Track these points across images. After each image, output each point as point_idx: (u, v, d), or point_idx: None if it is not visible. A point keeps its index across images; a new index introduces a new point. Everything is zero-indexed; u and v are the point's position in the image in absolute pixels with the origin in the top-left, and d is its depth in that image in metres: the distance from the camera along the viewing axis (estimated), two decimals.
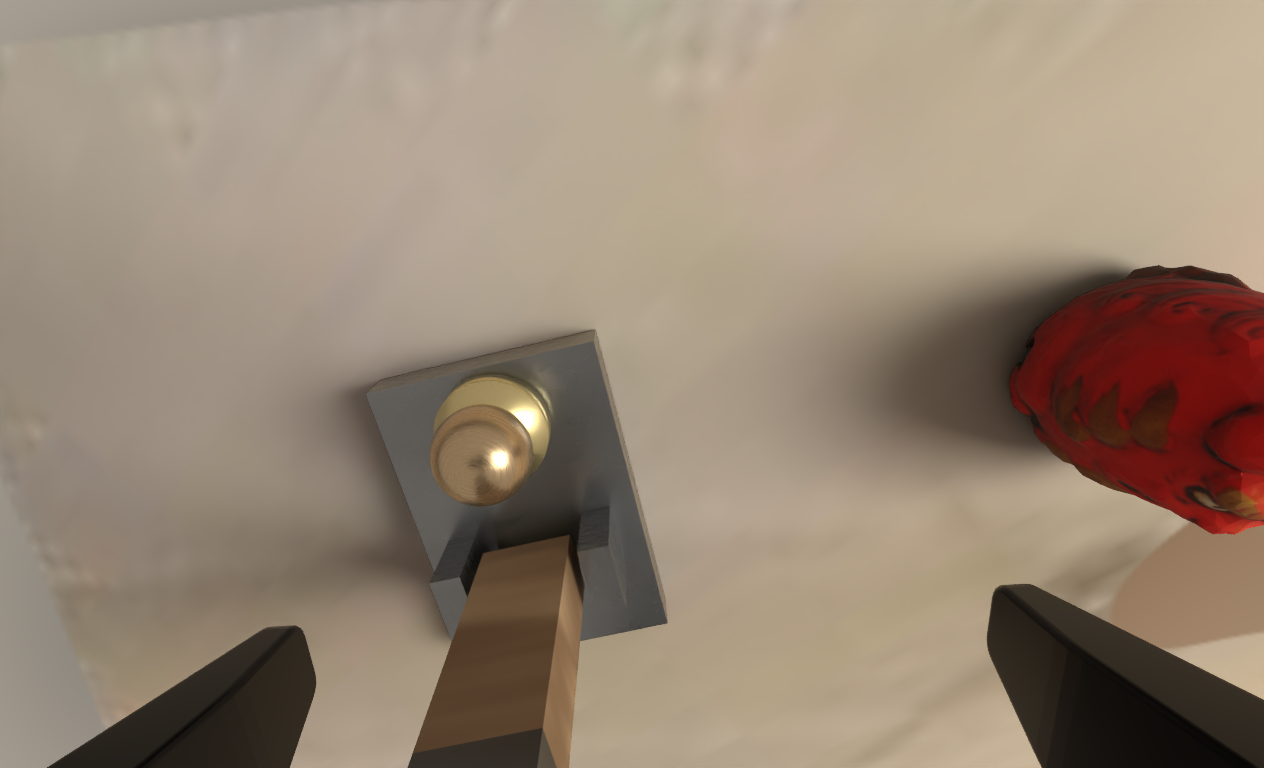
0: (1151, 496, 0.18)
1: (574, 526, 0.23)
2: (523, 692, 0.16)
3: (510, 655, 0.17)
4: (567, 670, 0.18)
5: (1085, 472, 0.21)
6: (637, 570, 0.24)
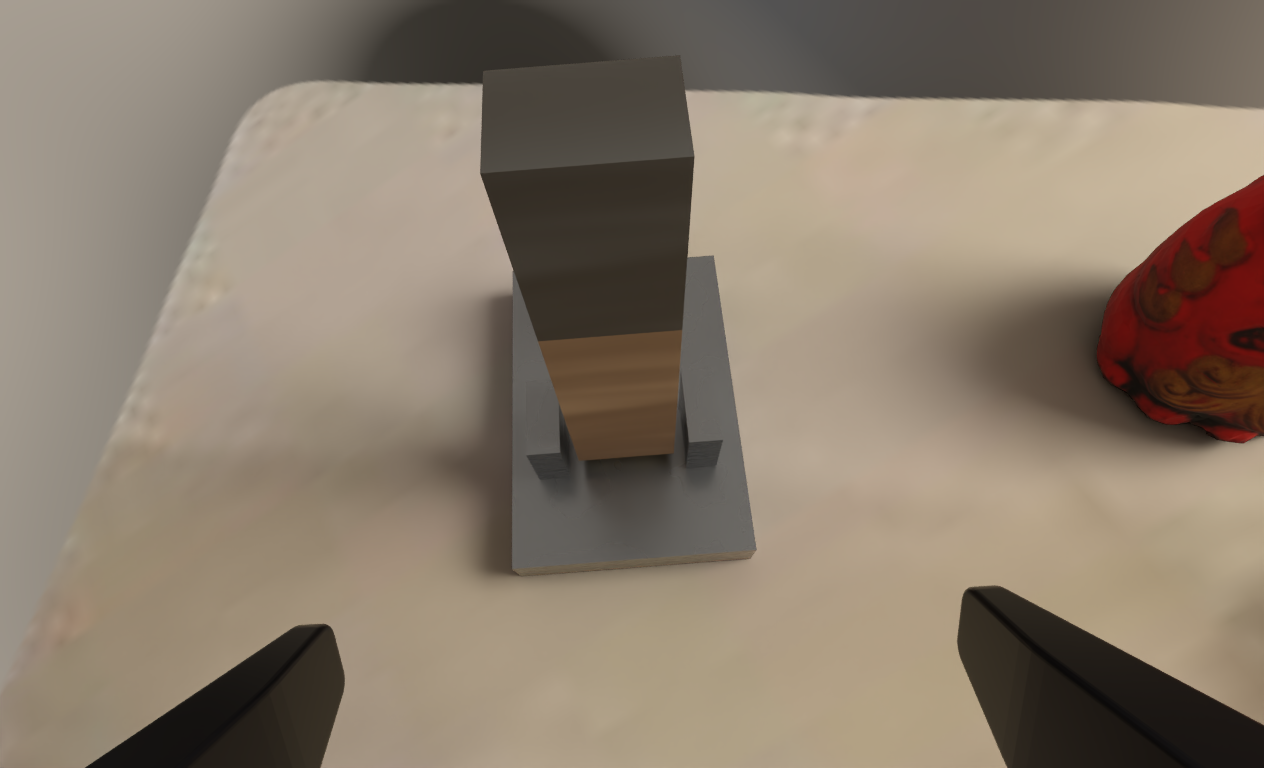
0: None
1: None
2: None
3: None
4: None
5: (1198, 367, 0.21)
6: (728, 474, 0.22)
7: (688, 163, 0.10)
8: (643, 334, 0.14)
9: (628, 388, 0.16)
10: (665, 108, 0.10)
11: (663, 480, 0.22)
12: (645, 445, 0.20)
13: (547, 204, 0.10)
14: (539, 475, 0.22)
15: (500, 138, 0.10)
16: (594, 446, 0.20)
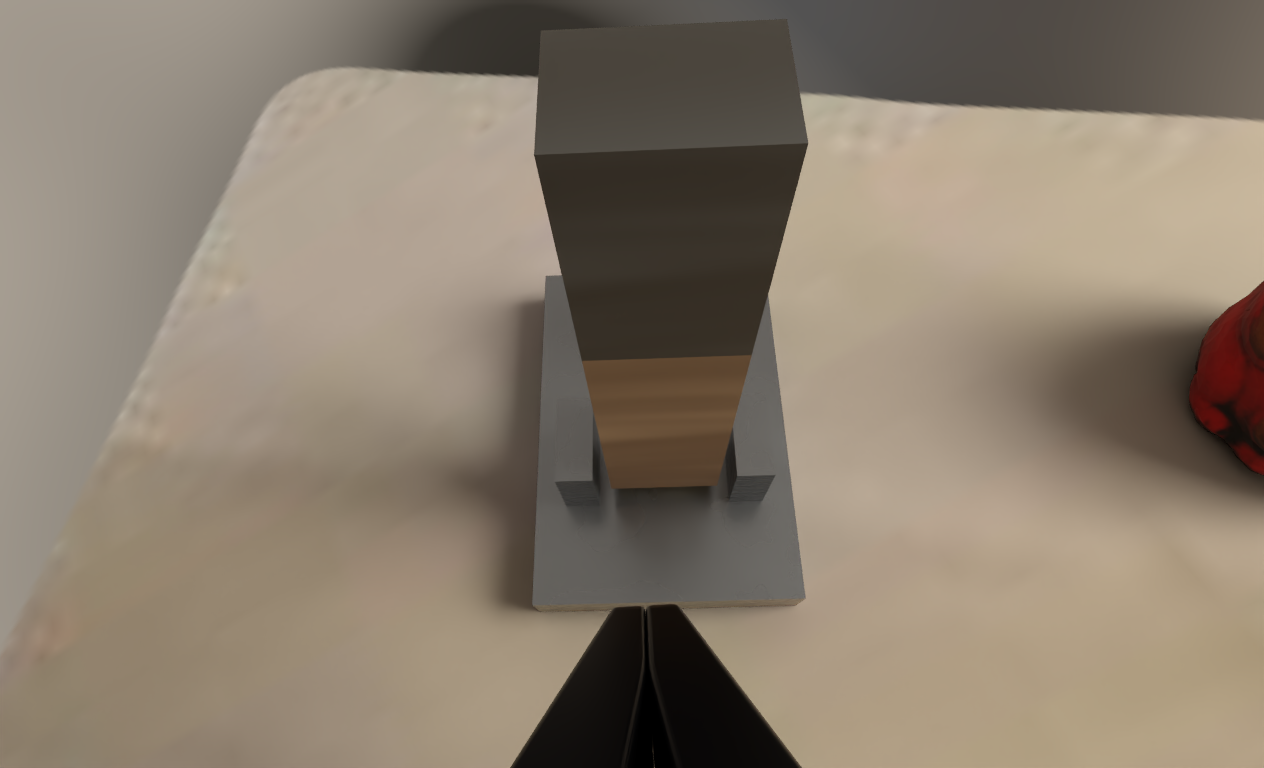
0: None
1: None
2: None
3: None
4: None
5: None
6: (775, 511, 0.20)
7: (799, 152, 0.07)
8: (705, 358, 0.12)
9: (678, 416, 0.14)
10: (768, 83, 0.08)
11: (703, 514, 0.20)
12: (687, 476, 0.18)
13: (613, 198, 0.08)
14: (566, 502, 0.20)
15: (560, 112, 0.08)
16: (630, 475, 0.18)
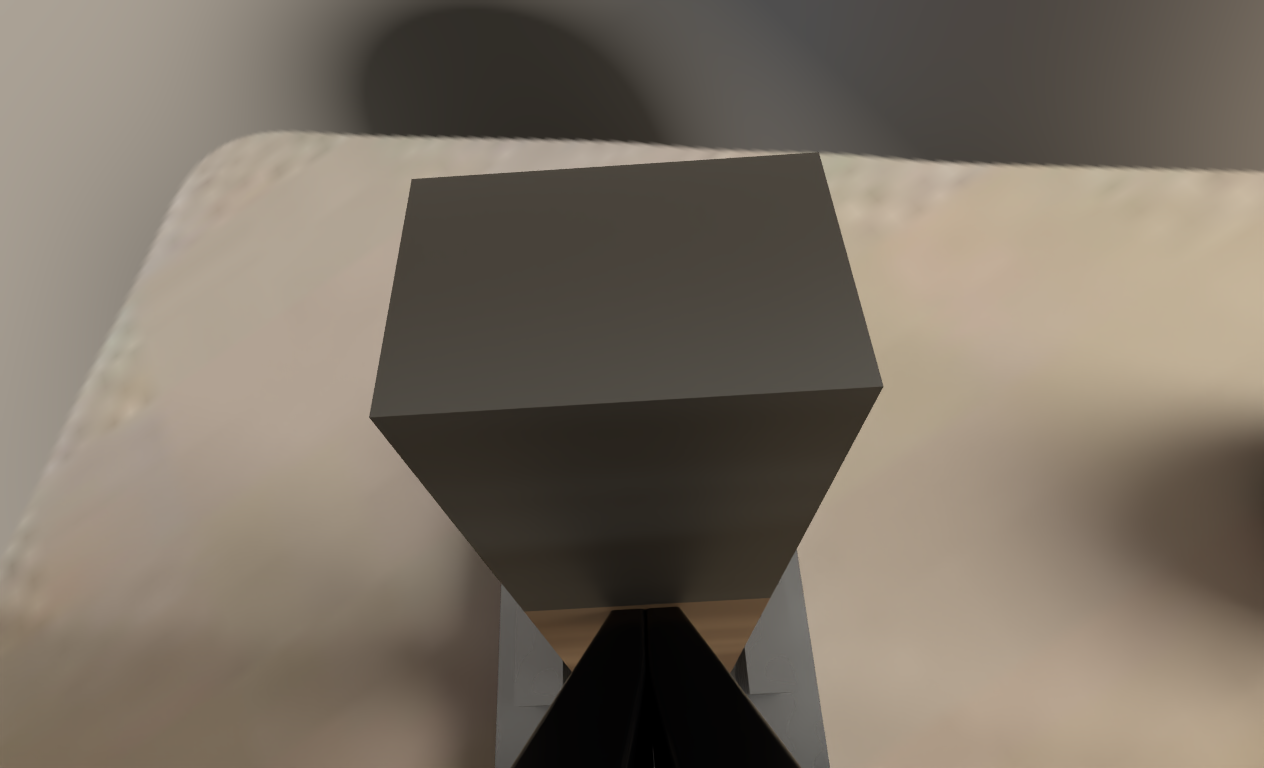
0: None
1: None
2: None
3: None
4: None
5: None
6: (796, 709, 0.16)
7: (864, 398, 0.04)
8: (704, 603, 0.08)
9: None
10: (800, 267, 0.04)
11: None
12: None
13: (532, 463, 0.05)
14: (533, 706, 0.16)
15: (428, 329, 0.04)
16: None
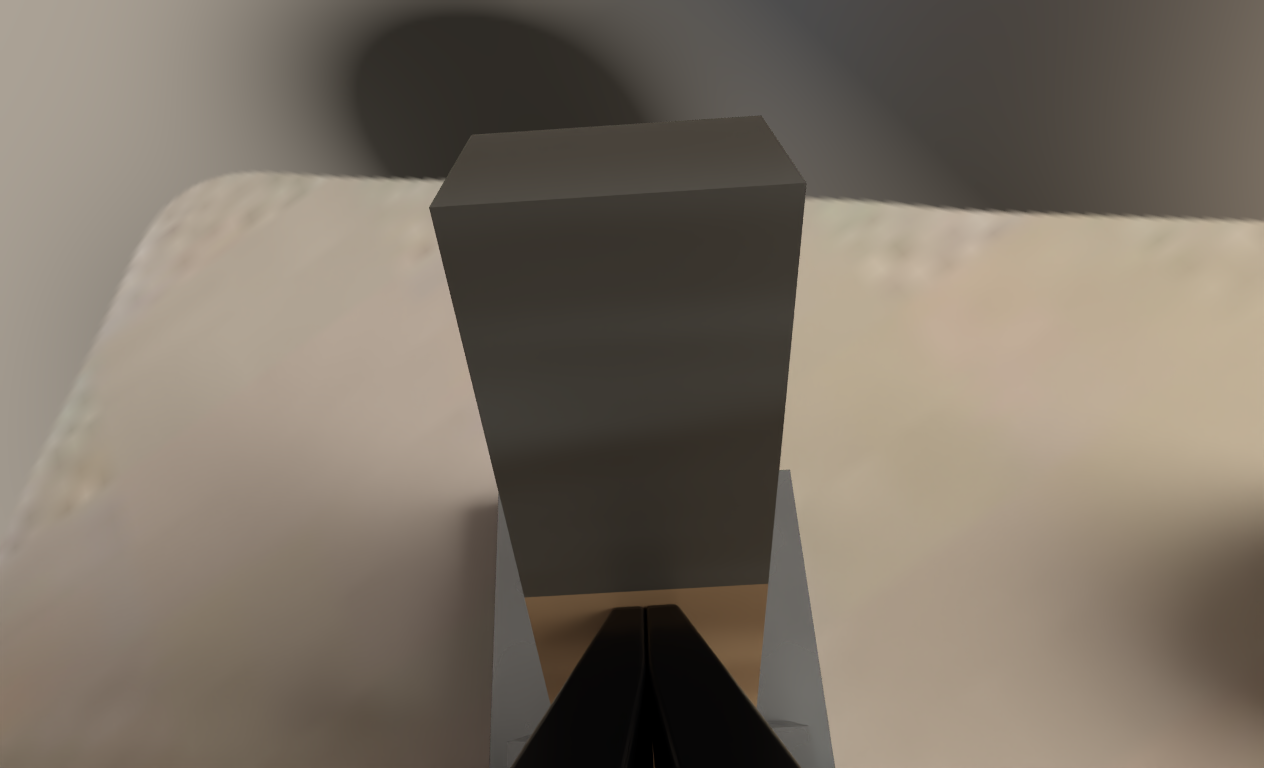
0: None
1: None
2: None
3: None
4: None
5: None
6: None
7: (795, 199, 0.05)
8: (702, 590, 0.08)
9: None
10: (747, 149, 0.06)
11: None
12: None
13: (544, 286, 0.06)
14: None
15: (476, 178, 0.06)
16: None
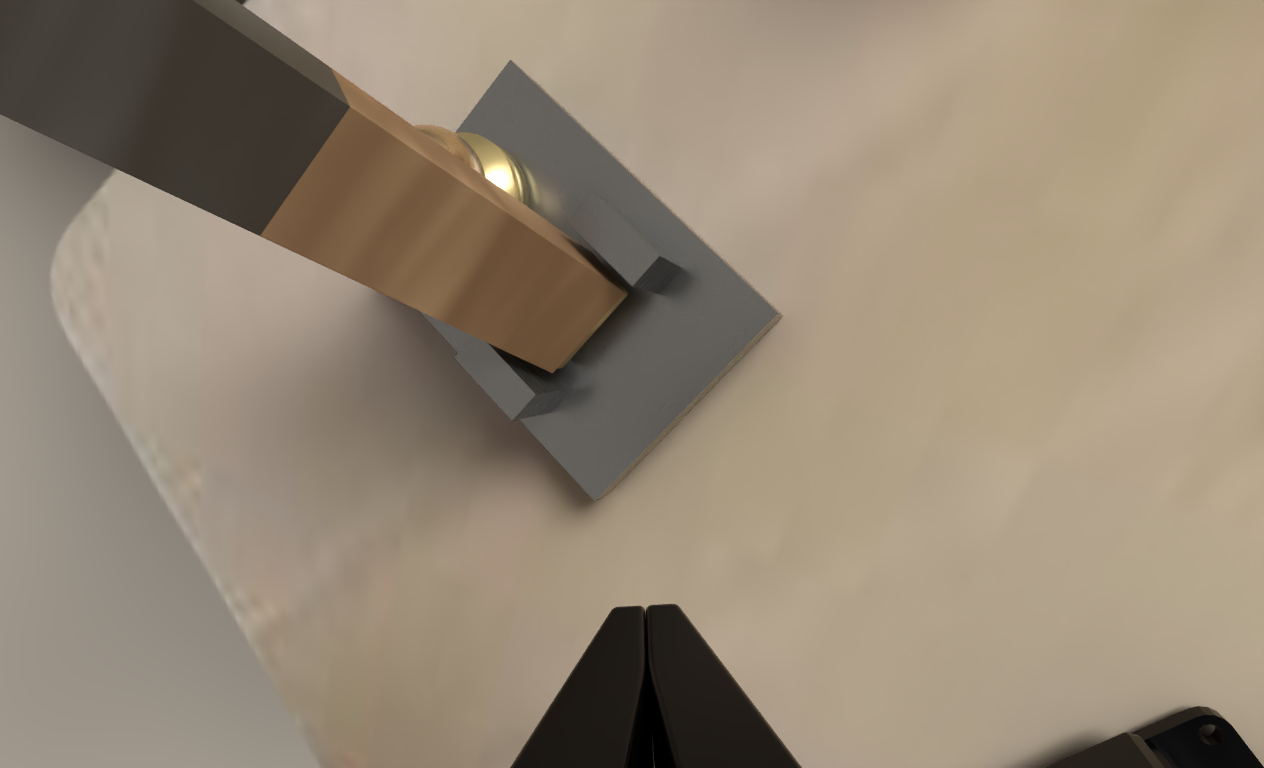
0: None
1: (604, 259, 0.20)
2: None
3: None
4: (469, 177, 0.15)
5: None
6: (699, 267, 0.19)
7: None
8: (328, 145, 0.12)
9: (434, 233, 0.14)
10: None
11: (649, 322, 0.19)
12: (579, 303, 0.17)
13: None
14: (545, 412, 0.20)
15: None
16: (534, 341, 0.18)
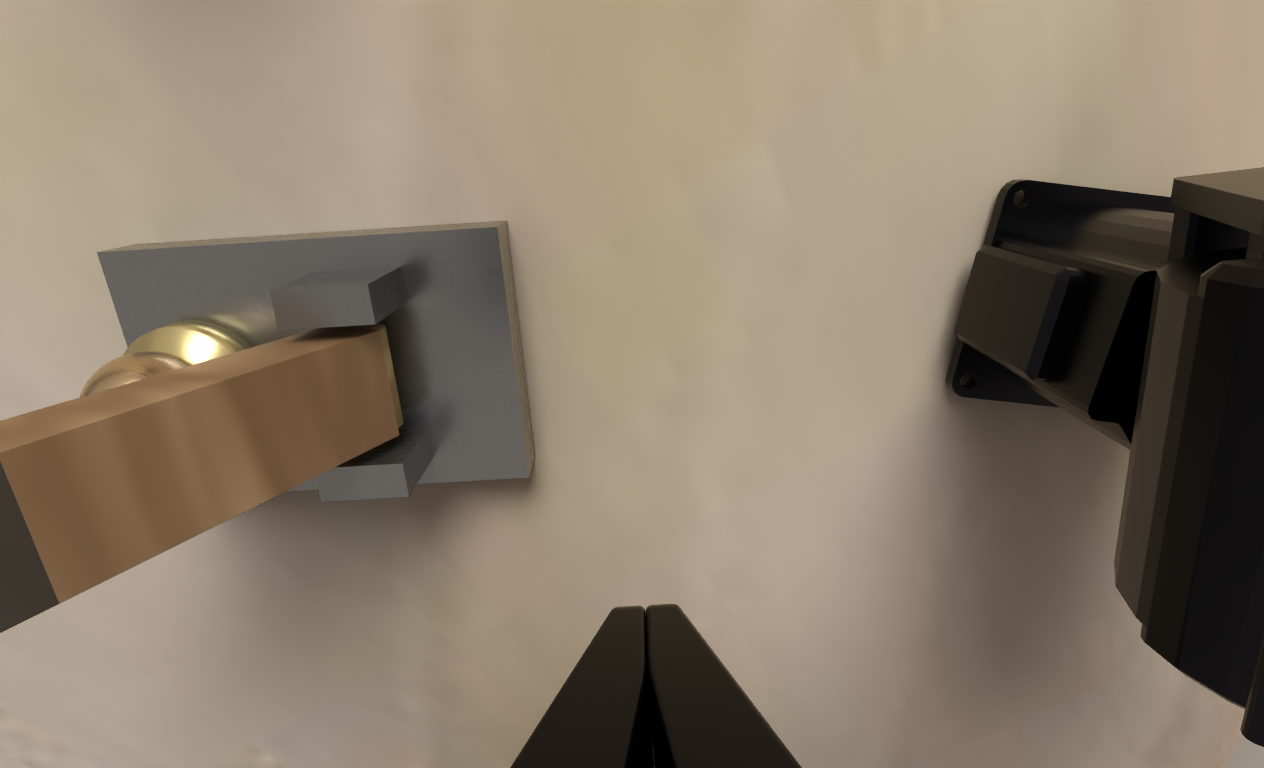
0: None
1: None
2: None
3: None
4: (162, 388, 0.14)
5: None
6: (410, 253, 0.19)
7: None
8: (19, 494, 0.12)
9: (185, 454, 0.14)
10: None
11: (424, 327, 0.19)
12: (356, 373, 0.17)
13: None
14: (430, 461, 0.20)
15: None
16: (358, 431, 0.18)
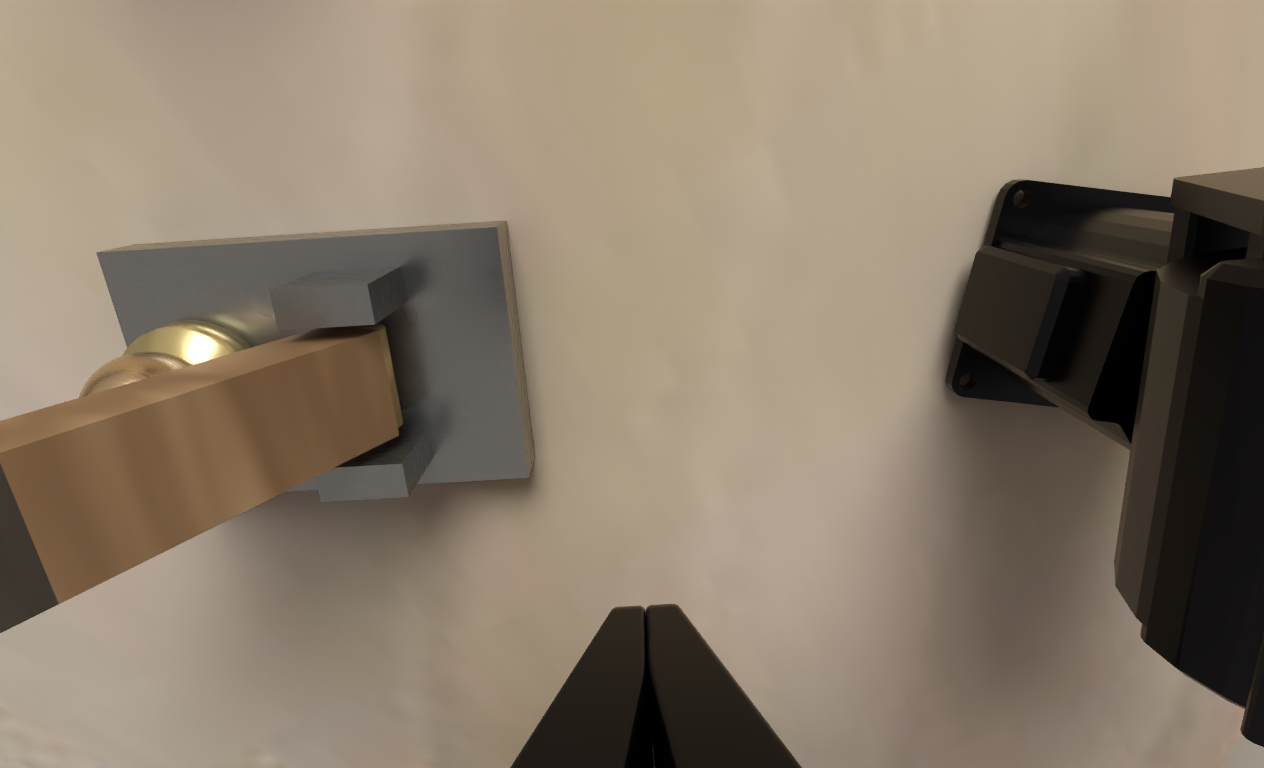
0: None
1: None
2: None
3: None
4: (161, 388, 0.14)
5: None
6: (410, 253, 0.19)
7: None
8: (19, 495, 0.12)
9: (185, 454, 0.14)
10: None
11: (423, 327, 0.19)
12: (356, 373, 0.17)
13: None
14: (429, 461, 0.20)
15: None
16: (358, 432, 0.18)
